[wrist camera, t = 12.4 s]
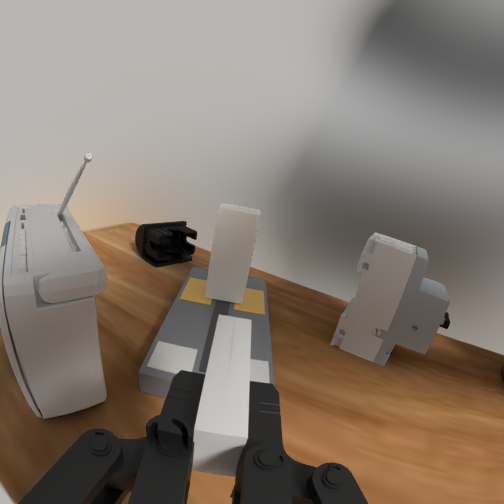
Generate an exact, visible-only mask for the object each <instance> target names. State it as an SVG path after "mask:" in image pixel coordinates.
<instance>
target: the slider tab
mask: <svg viewBox="0 0 504 504" xmlns="http://www.w3.org/2000/svg"><path fill="white" fill-rule="evenodd" d="M260 216H261V215H260V210H258V209H252V208H247V207H242V206H236V205H231V204H226V203H222V204H221V205H220V206H219V208H218V214H217V220H216V226H215V232H214V238H213V244H212V250H211V257H210V263H209V270H208V276H207V283H206V290H205V297H207V298H212V299H217V300H222V301H228V302H233V303H239V304H242V303H243V298H244V294H245V289H246V284H247V279H248V274H249V269H250V264H251V260H252V255H253V250H254V245H255V240H256V235H257V231H258V226H259V221H260Z"/></svg>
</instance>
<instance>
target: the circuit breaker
mask: <svg viewBox="0 0 504 504" xmlns="http://www.w3.org/2000/svg"><path fill="white" fill-rule="evenodd" d="M428 262H429V259H428V256H427V252H426V250H425V249H422V248H419V247H416V246H414V245H411V244H408V243H405V242H402V241H399V240H397V239H394V238H391V237H388V236H385V235H381V234H378V233H375V234H373V236H371V237H370V238H369V239H368V240H367V244H366V246H365V248H364V250H363V252H362V254H361V257H360V260H359V264H358V267H357V270H356V272H358V273H361V274H363V275H362V278H361V282H360V284H359V287H358V290H357V293H356V296H355V298H353V299H352V300H351V302H350V303H349V305H348V306H347V308H346V309H345V311H344V312H343V314H342V315H341V317H340V320H339V322H338V325H337V328H336V330H335V333H334V336H333V339H332V341H331V343H330V345H332V346H333V345H336V346H338V347H339V349H342V350H344V351H346V352H349V353H351V354H354V355H356V356H358V357H361V358H363V359H366V360H368V361H371V362H373V363H376V364H379V365H381V366H385V364H386V362H387V360H388V358H389V356H390V353H391V351H392V350H393V348H394V346H395V344H397V345H400V346H403V347H405V348H408V349H411V350H413V351H416V352H419V353H421V354H426V352H427V350H428V348H429V346H430V344H431V342H432V340H433V338H434V336H435V334H436V332H437V330H438V328H439V326H440V327H443V328H446V329H447V328H448V327H449V324H450V320H449V317H448V316H449V315H448V313H447V312H446V310H447V307H448V306H449V299H448V296H447V293H446V290H445V287H444V285H443V284H440V283H438V282H435V281H432V280H430V279H427V278H424V275H425V272H426V269H427V266H428Z"/></svg>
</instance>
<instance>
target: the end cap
mask: <svg viewBox="0 0 504 504" xmlns="http://www.w3.org/2000/svg"><path fill="white" fill-rule="evenodd" d="M187 236H188V237H190V238H192V239H194V240H196V238H197V232H196V231H195V230H192V229H190V228H188V227H186V222H185V221H178V222H165V223H153V224H142V225H140V226H139V227H138V229H137V231H136V236H135V241H136V247H137V250H138V252H139V254H140V255H141V256H142V258H143V259H144V260H145V261H146V262H148V263H149V264H151V265H152V266H154V267H162V266H167V265H172V264H177V263H182V262H187V261H191V260H192V256H190V255H193V254H194V252H195V245H193V244H190V243H189V242H187V240H186V238H187Z"/></svg>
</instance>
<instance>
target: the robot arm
mask: <svg viewBox="0 0 504 504" xmlns="http://www.w3.org/2000/svg"><path fill="white" fill-rule="evenodd" d="M250 353H251V320H250V319H243V318H237V317H231V316H226V315H220V314H219V316H218V321H217V325H216V330H215V334H214V339H213V343H212V348H211V352H210V357H209V361H208V366H207V371H206V375H205V374H200V373H195V372H190V371H185V370H180V371H179V372H178V373H177V374H176V375H175V376H174V377H173V379H172V382H171V385H170V388H169V391H168V394H167V397H166V399H165V402H164V405H163V408H162V412H161V415H159V416H155V417H154V418H152V419H151V420H149V422H148V423H147V425H146V433H147V436H146V437H144V438H140V439H118V438H117V437H116V436H115V435H114V434H113V433H112V432H110V431H107V430H105V429H92V430H88V431H87V432H85V433H84V434H82V436H81V437H80V438H79V439H78V440H77V441H76V442H75V443H74V444H73V445H72V446H71V447H70V448H69V450H68V451H67V452H66V453H65V454H64V455H63V456H62V457H61V458H60V459H59V460H58V461H57V462H56V464H55V465H54V466H53V467H52V468H51V469H50V470H49V471H48V472H47V473H46V474H45V475H44V476H43V477H42V479H41V480H40V481H39V482H38V483H37V484H36V485H35V486H34V487H33V488H32V489H31V490H30V491H29V493H28V494H27V495H26V496H25V497H24V498H23V499H22V500H21V501H20V502H19V503H18V504H121V502H122V501H123V499H124V498H125V496H126V495H127V494H128V492H129V491H132V493H131V496H130V499H129V503H128V504H187V498H188V492H189V486H190V477H191V471H192V470H194V471H200V472H206V473H212V474H219V475H227V476H235V474H236V478H235V486H234V488H233V491H232V493H231V496H230V497H232V504H368V502H367V500H366V499H365V497H364V495H363V493H362V491H361V490H360V488H359V486H358V484H357V482H356V480H355V479H354V477H353V475H352V473H351V472H350V471H349V470H348V468H346V467H345V466H343V465H341V464H337V463H325V464H323V465H320V466H319V467H318V468H316V467H313V466H309V465H305V464H302V463H299V462H297V461H295V460H293V459H292V458H290V457H289V456H288V455H287V454H286V452H285V450H284V448H283V442H282V429H281V416H280V406H279V404H280V403H279V393H278V391H277V390H276V388H275V387H274V385H273V384H272V383H263V382H255V381H250ZM502 376H503V379H504V365H503V367H502Z"/></svg>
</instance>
